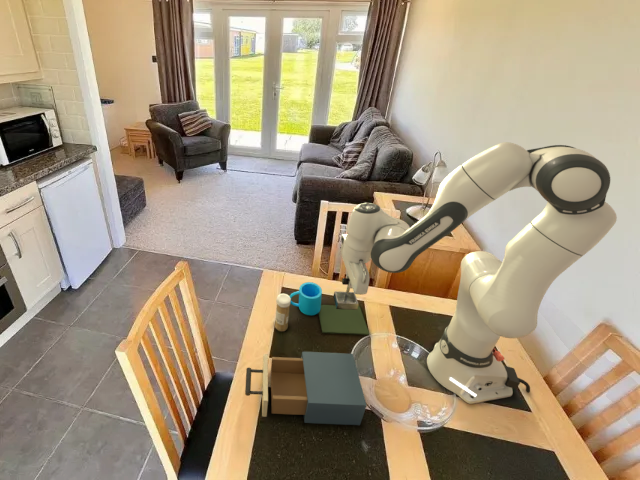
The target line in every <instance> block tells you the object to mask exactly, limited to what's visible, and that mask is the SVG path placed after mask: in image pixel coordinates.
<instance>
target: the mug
mask: <svg viewBox="0 0 640 480" xmlns="http://www.w3.org/2000/svg"><path fill="white" fill-rule="evenodd" d="M297 295H298V303H296V302H294V301H292V300H291V303H290V305H292V306H294V307H298V309H299V310H300V312H301V313H302V314H304V315H306V316H315V315H318V314H319V313H318V312H320V309H321V305H322V296H323V289H322V288H321V286H320V284H317V283H315V282H311V281H307V282H304V283H302V284H300V286H299V288H298V290H297V291H293V292H292V293H290V295H289V296H290V298H291V299H292V298H293V297H294V296H297Z"/></svg>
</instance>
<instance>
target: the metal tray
mask: <svg viewBox="0 0 640 480" xmlns="http://www.w3.org/2000/svg"><path fill="white" fill-rule="evenodd" d="M348 281H350V279H349V278H346V277H342V279H341V284H342V285H343V286H346V291H337V290H336V291H335V290H334V291H333V301H334V305H336V309H347V310H357V308H358V306H359V301H358V297H357V294H355V293H354V291H350V290H351V288H349V286H348Z"/></svg>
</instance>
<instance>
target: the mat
mask: <svg viewBox="0 0 640 480" xmlns="http://www.w3.org/2000/svg"><path fill="white" fill-rule="evenodd" d="M361 308H362V307H361V306H360V305H358V308H357V310H347V309H336V305H335V304H334V305H333V304H321V309H320V312H318V313H317V314H318V317H319V323H320V328H321V334H340V335H342V334H343V335H358V336H359V335H362V336H370V332H369V328H368V326H367V323H366V320H365V318H364V314H363V312H362V309H361Z"/></svg>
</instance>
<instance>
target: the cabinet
mask: <svg viewBox="0 0 640 480" xmlns="http://www.w3.org/2000/svg"><path fill="white" fill-rule="evenodd" d="M300 358H303V366H304V375H305V383H306V392H307V400H308V402H307V408H306V413H305V415H303V421H304V424H319V425H321V424H322V425H344V426H345V425H346V426H361V423H362V421H363V418H364V414H365V411H366V408H367V405H368V404H367V401H366V398H365V394H364V391H363V390H364V389H363V387H362V383H361V380H360V376H359V372H358V369H357V364H356V361H355V357H354V354H353V353H345V352H344V353H343V352H342V353H340V352H320V351H319V352H318V351H302V352H301V357H300Z"/></svg>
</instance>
